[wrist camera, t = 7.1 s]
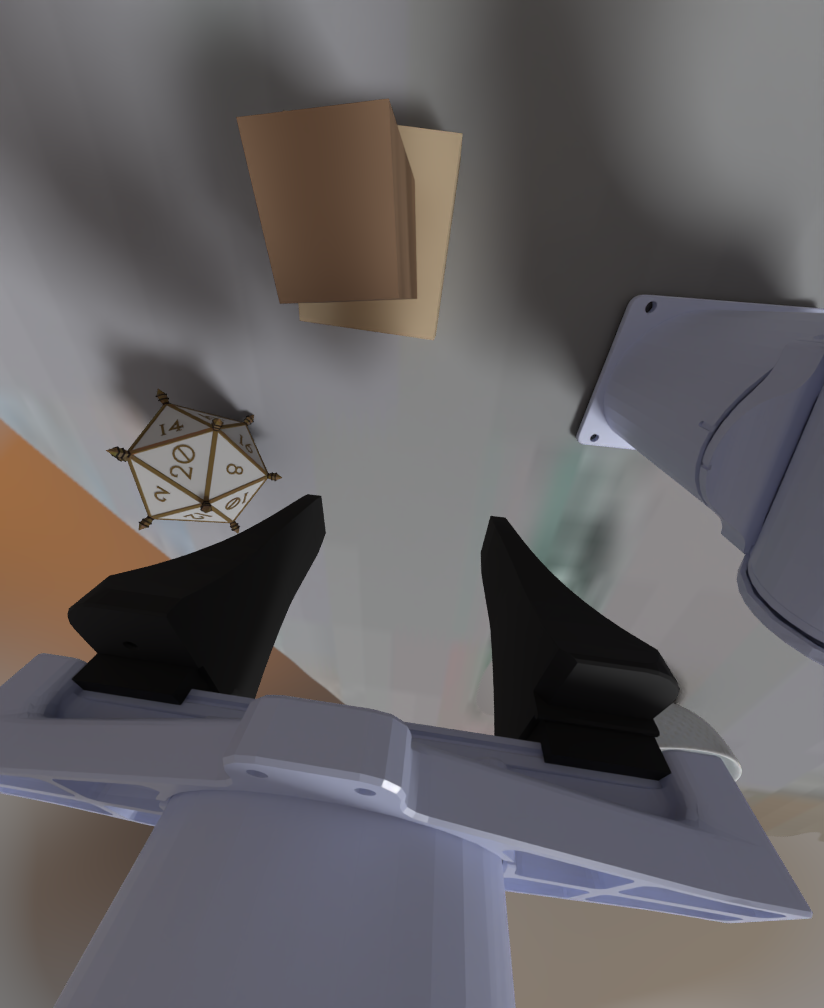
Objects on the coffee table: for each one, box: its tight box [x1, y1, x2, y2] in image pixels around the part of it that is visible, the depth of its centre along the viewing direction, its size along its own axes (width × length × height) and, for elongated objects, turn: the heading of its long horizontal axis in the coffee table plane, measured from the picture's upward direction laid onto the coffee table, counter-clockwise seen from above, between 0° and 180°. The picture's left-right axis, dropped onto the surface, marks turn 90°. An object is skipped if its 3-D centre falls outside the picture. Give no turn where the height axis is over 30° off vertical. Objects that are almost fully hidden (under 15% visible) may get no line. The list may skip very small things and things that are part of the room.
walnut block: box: [236, 99, 417, 304], centre depth 11 cm, size 4×4×6 cm
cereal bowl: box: [654, 703, 742, 781], centre depth 35 cm, size 17×17×7 cm
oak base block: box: [283, 110, 462, 340], centre depth 15 cm, size 7×7×3 cm
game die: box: [106, 389, 282, 533], centre depth 20 cm, size 9×8×10 cm
